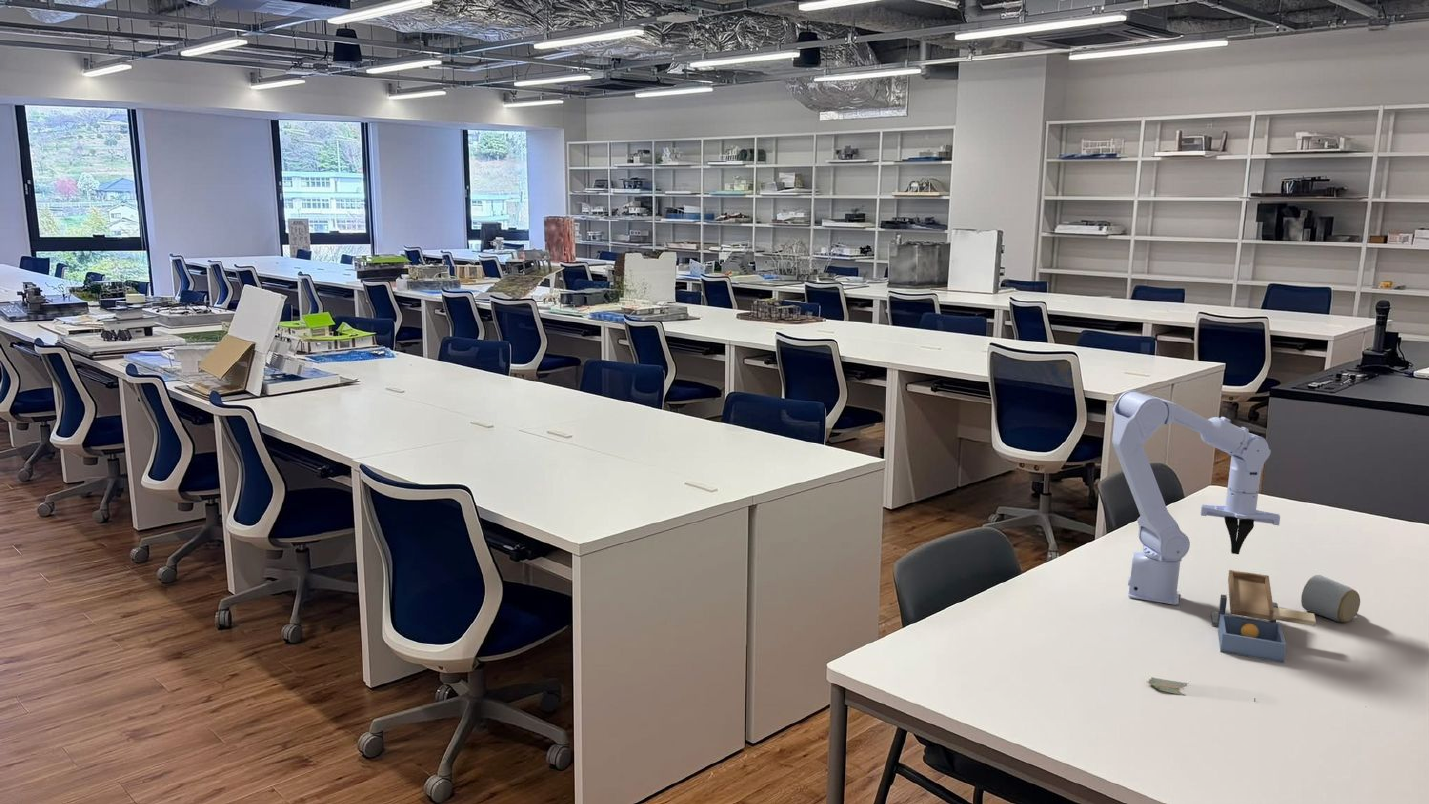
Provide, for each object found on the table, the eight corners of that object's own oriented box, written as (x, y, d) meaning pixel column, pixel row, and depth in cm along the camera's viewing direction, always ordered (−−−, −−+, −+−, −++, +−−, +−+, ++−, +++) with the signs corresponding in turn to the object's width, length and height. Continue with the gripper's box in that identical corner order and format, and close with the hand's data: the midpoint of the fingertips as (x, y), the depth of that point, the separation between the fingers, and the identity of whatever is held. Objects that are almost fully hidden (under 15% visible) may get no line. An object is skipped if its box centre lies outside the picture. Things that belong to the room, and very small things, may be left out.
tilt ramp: (1228, 625, 192) (1231, 603, 190) (1226, 590, 204) (1229, 569, 202) (1313, 639, 186) (1317, 617, 185) (1305, 602, 199) (1309, 581, 197)
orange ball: (1241, 618, 191) (1239, 631, 192) (1242, 628, 188) (1240, 641, 189) (1259, 621, 189) (1257, 634, 191) (1260, 631, 187) (1258, 644, 188)
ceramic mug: (1339, 627, 197) (1345, 590, 196) (1297, 612, 204) (1303, 576, 203) (1368, 619, 202) (1374, 582, 201) (1327, 604, 209) (1333, 569, 208)
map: (1143, 680, 173) (1143, 675, 173) (1271, 694, 170) (1272, 689, 170) (1149, 693, 169) (1150, 688, 168) (1282, 708, 165) (1283, 702, 165)
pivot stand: (1212, 625, 197) (1215, 600, 196) (1211, 615, 202) (1214, 590, 201) (1282, 637, 192) (1285, 611, 191) (1279, 626, 197) (1282, 600, 196)
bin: (1220, 651, 185) (1222, 633, 184) (1217, 631, 194) (1220, 614, 193) (1283, 662, 181) (1286, 644, 180) (1278, 641, 190) (1280, 623, 189)
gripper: (1204, 490, 208) (1197, 552, 210) (1284, 499, 202) (1276, 564, 205) (1203, 482, 214) (1196, 543, 217) (1281, 491, 208) (1272, 553, 211)
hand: (1234, 552), depth 211 cm, fingers closed
